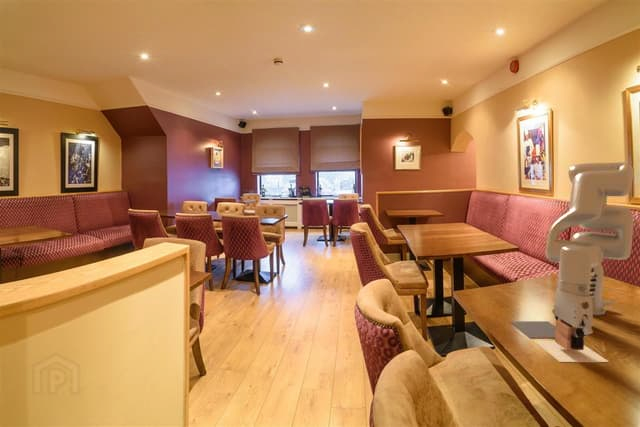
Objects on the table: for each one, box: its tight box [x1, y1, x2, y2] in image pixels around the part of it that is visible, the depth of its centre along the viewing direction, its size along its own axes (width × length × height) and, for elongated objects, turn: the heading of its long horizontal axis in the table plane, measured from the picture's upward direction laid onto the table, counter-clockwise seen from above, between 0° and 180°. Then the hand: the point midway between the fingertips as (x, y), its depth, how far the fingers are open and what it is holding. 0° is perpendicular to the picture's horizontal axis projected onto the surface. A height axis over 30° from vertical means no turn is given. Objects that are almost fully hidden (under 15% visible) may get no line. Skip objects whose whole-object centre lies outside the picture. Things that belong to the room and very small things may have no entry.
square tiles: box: [509, 320, 610, 363], centre depth 105 cm, size 14×26×1 cm, turn 178°
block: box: [554, 320, 586, 350], centre depth 97 cm, size 5×5×7 cm
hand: (569, 342), depth 98 cm, fingers closed on block, 5 cm apart
